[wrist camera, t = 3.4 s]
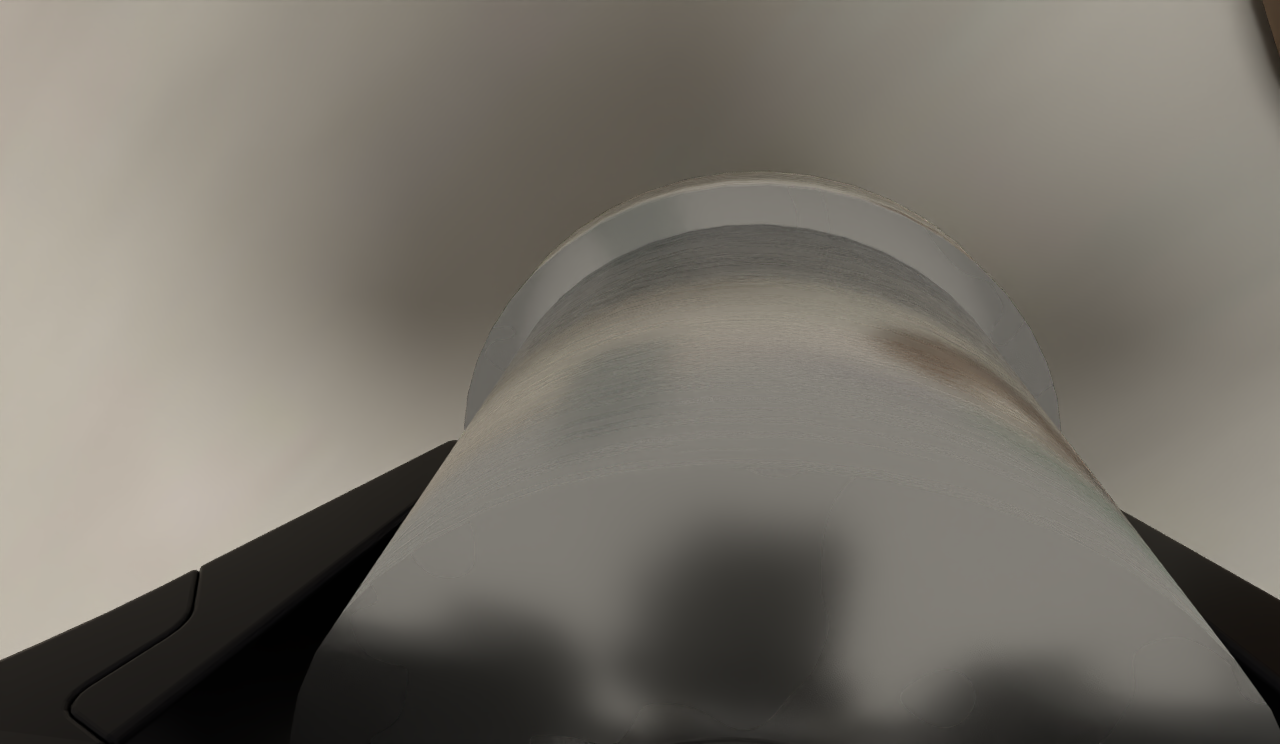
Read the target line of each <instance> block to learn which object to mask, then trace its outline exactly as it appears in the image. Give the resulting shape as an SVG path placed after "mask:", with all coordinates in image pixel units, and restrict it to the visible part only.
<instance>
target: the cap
mask: <svg viewBox="0 0 1280 744" xmlns="http://www.w3.org/2000/svg"><path fill="white" fill-rule="evenodd" d="M464 430H465V431H464V433H463V434H462V435H461V437H460V438H459V440H458V441H457V443H456V444H455V446H454V447H453V449H452V450H451V452H450V453H449V455H448V456H447V458H446V459H445V461H444V462H443V464H442V465H441V467H440V468H439V470H438V471H437V473H436V474H435V476H434V477H433V479H432V480H431V482H430V483H429V485H428V486H427V487H426V489H425V490H424V492H423V493H422V495H421V496H420V498H419V499H418V501H417V502H416V504H415V505H414V507H413V508H412V510H411V511H410V513H409V514H408V516H407V517H406V519H405V520H404V522H403V523H402V525H401V526H400V528H399V529H398V531H397V532H396V534H395V535H394V536H393V538H392V539H391V541H390V542H389V544H388V545H387V547H386V548H385V550H384V551H383V553H382V554H381V556H380V557H379V559H378V560H377V562H376V563H375V565H374V566H373V568H372V569H371V571H370V572H369V574H368V575H367V577H366V578H365V580H364V581H363V583H362V584H361V586H360V587H359V588H358V590H357V591H356V593H355V594H354V596H353V597H352V599H351V600H350V602H349V603H348V605H347V606H346V608H345V609H344V611H343V612H342V614H341V615H340V617H339V618H338V620H337V621H336V623H335V624H334V626H333V627H332V629H331V630H330V632H329V633H328V635H327V636H326V638H325V639H324V641H323V642H322V644H321V645H320V646H319V648H318V649H317V651H316V652H315V654H314V656H313V659H312V661H311V664H310V666H309V668H308V671H307V673H306V676H305V678H304V680H303V683H302V685H301V688H300V690H299V693H298V696H297V701H296V707H295V712H294V717H293V723H292V728H291V733H290V744H1280V729H1279V726H1278V724H1277V722H1276V720H1275V717H1274V715H1273V713H1272V711H1271V709H1270V708H1269V706H1268V705H1267V704H1266V702H1265V701H1264V699H1263V698H1262V697H1261V695H1260V694H1259V692H1258V691H1257V690H1256V688H1255V687H1254V685H1253V684H1252V683H1251V681H1250V680H1249V679H1248V677H1247V676H1246V674H1245V673H1244V672H1243V670H1242V669H1241V667H1240V666H1239V665H1238V663H1237V662H1236V660H1235V659H1234V658H1233V656H1232V655H1231V654H1230V653H1229V651H1228V650H1227V649H1226V647H1225V646H1224V645H1223V643H1222V642H1221V641H1220V639H1219V638H1218V637H1217V636H1216V634H1215V633H1214V632H1213V630H1212V629H1211V628H1210V626H1209V625H1208V624H1207V623H1206V621H1205V620H1204V619H1203V617H1202V616H1201V615H1200V613H1199V612H1198V611H1197V609H1196V608H1195V607H1194V606H1193V604H1192V603H1191V602H1190V600H1189V599H1188V598H1187V596H1186V595H1185V594H1184V592H1183V591H1182V590H1181V589H1180V587H1179V586H1178V585H1177V583H1176V582H1175V581H1174V579H1173V578H1172V577H1171V576H1170V574H1169V573H1168V572H1167V570H1166V569H1165V568H1164V566H1163V565H1162V564H1161V562H1160V561H1159V560H1158V559H1157V557H1156V556H1155V555H1154V553H1153V552H1152V551H1151V549H1150V548H1149V547H1148V546H1147V544H1146V543H1145V542H1144V540H1143V539H1142V538H1141V536H1140V535H1139V534H1138V532H1137V531H1136V530H1135V529H1134V527H1133V526H1132V525H1131V523H1130V522H1129V521H1128V519H1127V518H1126V517H1125V515H1124V514H1123V513H1122V512H1121V510H1120V509H1119V508H1118V506H1117V505H1116V504H1115V502H1114V501H1113V500H1112V499H1111V497H1110V496H1109V495H1108V493H1107V492H1106V491H1105V489H1104V488H1103V487H1102V485H1101V484H1100V483H1099V482H1098V480H1097V479H1096V478H1095V476H1094V475H1093V474H1092V472H1091V471H1090V470H1089V469H1088V467H1087V466H1086V465H1085V463H1084V462H1083V461H1082V459H1081V458H1080V457H1079V455H1078V454H1077V453H1076V452H1075V450H1074V449H1073V448H1072V446H1071V445H1070V444H1069V442H1068V441H1067V440H1066V439H1065V437H1064V436H1063V435H1062V433H1061V426H1060V418H1059V409H1058V400H1057V396H1056V392H1055V389H1054V385H1053V382H1052V378H1051V375H1050V371H1049V368H1048V365H1047V362H1046V360H1045V358H1044V355H1043V353H1042V351H1041V349H1040V347H1039V345H1038V343H1037V341H1036V339H1035V337H1034V335H1033V333H1032V331H1031V328H1030V327H1029V325H1028V324H1027V323H1026V321H1025V320H1024V318H1023V317H1022V315H1021V314H1020V313H1019V311H1018V310H1017V308H1016V307H1015V305H1014V304H1013V303H1012V301H1011V300H1010V298H1009V297H1008V295H1007V294H1006V293H1005V292H1004V291H1003V290H1002V289H1001V288H1000V287H999V286H998V285H997V284H996V283H995V282H994V281H993V280H992V279H991V278H990V277H989V275H988V274H987V273H986V272H985V271H984V270H983V269H982V268H981V267H980V266H979V265H978V264H977V263H976V262H975V261H974V260H973V259H972V258H971V257H970V256H969V255H968V254H967V253H966V252H965V251H964V250H963V248H962V247H961V246H960V245H959V244H958V243H956V242H955V241H954V240H952V239H951V238H950V237H948V236H947V235H946V234H944V233H943V232H942V231H941V230H939V229H938V228H937V227H935V226H934V225H933V224H931V223H930V222H929V221H927V220H926V219H924V218H922V217H921V216H919V215H917V214H915V213H913V212H912V211H910V210H908V209H906V208H904V207H903V206H901V205H899V204H897V203H895V202H894V201H892V200H890V199H887V198H884V197H882V196H879V195H877V194H874V193H871V192H869V191H866V190H864V189H861V188H858V187H856V186H853V185H850V184H846V183H841V182H837V181H833V180H829V179H824V178H820V177H816V176H812V175H803V174H792V173H782V172H772V171H759V172H730V173H721V174H715V175H709V176H703V177H697V178H691V179H685V180H682V181H679V182H676V183H672V184H669V185H666V186H663V187H659V188H656V189H653V190H650V191H647V192H644V193H642V194H640V195H638V196H636V197H634V198H631V199H629V200H627V201H625V202H623V203H621V204H618V205H616V206H614V207H612V208H610V209H609V210H607V211H605V212H604V213H602V214H601V215H599V216H598V217H596V218H594V219H593V220H591V221H590V222H588V223H587V224H585V225H584V226H582V227H580V228H579V229H578V230H577V231H575V232H574V233H573V234H572V235H571V236H570V237H568V238H567V239H566V240H565V241H564V242H563V243H561V244H560V245H559V246H558V247H557V248H556V249H554V250H553V251H552V252H551V253H550V254H549V255H548V256H547V258H546V259H545V260H544V261H543V262H542V263H541V264H540V266H539V267H538V268H537V269H536V270H535V271H534V273H533V274H532V275H531V276H530V277H529V278H528V279H527V281H526V282H525V283H524V284H523V286H522V287H521V288H520V289H519V290H518V292H517V293H516V294H515V295H514V296H513V298H512V299H511V300H510V301H509V303H508V305H507V306H506V308H505V309H504V311H503V312H502V314H501V316H500V317H499V319H498V320H497V322H496V323H495V325H494V326H493V328H492V330H491V331H490V333H489V336H488V338H487V340H486V342H485V345H484V347H483V349H482V351H481V354H480V356H479V358H478V361H477V363H476V367H475V370H474V374H473V378H472V381H471V385H470V389H469V392H468V399H467V408H466V416H465V425H464Z"/></svg>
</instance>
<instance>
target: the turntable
mask: <svg viewBox="0 0 1280 744" xmlns="http://www.w3.org/2000/svg"><path fill="white" fill-rule="evenodd" d="M1262 2H1263V5H1264V8H1265V12H1266V15H1267V18H1268V21H1269V24H1270V28H1271V31H1272V34H1273V37H1274V40H1275V44H1276V47H1277V50H1278V53H1279V56H1280V0H1262Z"/></svg>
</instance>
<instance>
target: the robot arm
mask: <svg viewBox="0 0 1280 744" xmlns="http://www.w3.org/2000/svg"><path fill="white" fill-rule="evenodd" d="M457 441H458V440H452V441H448V442H446V443H444V444H442V445H440V446H438V447H436V448H434V449H432V450H430V451H428V452H426V453H424V454H423V455H421V456H419V457H417V458H415V459H413V460H411V461H409V462H407V463H405V464H403V465H401V466H399V467H397V468H395V469H393V470H391V471H389V472H387V473H385V474H383V475H381V476H379V477H377V478H375V479H373V480H371V481H369V482H367V483H365V484H363V485H361V486H359V487H357V488H355V489H353V490H351V491H349V492H347V493H345V494H343V495H341V496H339V497H337V498H335V499H333V500H331V501H329V502H327V503H325V504H323V505H321V506H319V507H317V508H316V509H314V510H312V511H310V512H308V513H306V514H304V515H302V516H300V517H298V518H296V519H294V520H292V521H290V522H288V523H286V524H284V525H282V526H280V527H278V528H276V529H274V530H272V531H270V532H268V533H266V534H264V535H262V536H260V537H258V538H256V539H254V540H252V541H250V542H248V543H246V544H244V545H242V546H240V547H238V548H236V549H234V550H232V551H230V552H228V553H226V554H224V555H222V556H220V557H218V558H216V559H214V560H212V561H210V562H209V563H207V564H205V565H203V566H201V568H200V571H197V570H192V571H190V572H188V573H186V574H184V575H182V576H180V577H179V578H177V579H175V580H173V581H171V582H169V583H167V584H165V585H163V586H161V587H159V588H157V589H155V590H153V591H151V592H149V593H146V594H144V595H142V596H140V597H138V598H136V599H134V600H132V601H130V602H128V603H126V604H124V605H122V606H120V607H118V608H116V609H114V610H111V611H109V612H107V613H105V614H103V615H101V616H99V617H96V618H94V619H92V620H90V621H87V622H85V623H83V624H81V625H79V626H76V627H74V628H72V629H70V630H68V631H65V632H63V633H61V634H59V635H56V636H54V637H52V638H50V639H48V640H45V641H43V642H41V643H39V644H36V645H34V646H32V647H29V648H27V649H25V650H23V651H20V652H18V653H16V654H13V655H11V656H9V657H7V658H4V659H2V660H0V744H290V733H291V728H292V723H293V717H294V712H295V707H296V701H297V696H298V693H299V690H300V688H301V685H302V683H303V680H304V678H305V676H306V673H307V671H308V668H309V666H310V664H311V661H312V659H313V656H314V654H315V652H316V651H317V649H318V648H319V646H320V645H321V644H322V642H323V641H324V639H325V638H326V636H327V635H328V633H329V632H330V630H331V629H332V627H333V626H334V624H335V623H336V621H337V620H338V618H339V617H340V615H341V614H342V612H343V611H344V609H345V608H346V606H347V605H348V603H349V602H350V600H351V599H352V597H353V596H354V594H355V593H356V591H357V590H358V588H359V587H360V586H361V584H362V583H363V581H364V580H365V578H366V577H367V575H368V574H369V572H370V571H371V569H372V568H373V566H374V565H375V563H376V562H377V560H378V559H379V557H380V556H381V554H382V553H383V551H384V550H385V548H386V547H387V545H388V544H389V542H390V541H391V539H392V538H393V536H394V535H395V534H396V532H397V531H398V529H399V528H400V526H401V525H402V523H403V522H404V520H405V519H406V517H407V516H408V514H409V513H410V511H411V510H412V508H413V507H414V505H415V504H416V502H417V501H418V499H419V498H420V496H421V495H422V493H423V492H424V490H425V489H426V487H427V486H428V485H429V483H430V482H431V480H432V479H433V477H434V476H435V474H436V473H437V471H438V470H439V468H440V467H441V465H442V464H443V462H444V461H445V459H446V458H447V456H448V455H449V453H450V452H451V450H452V449H453V447H454V446H455V444H456V443H457ZM1121 512H1122V513H1123V514H1124V515H1125V517H1126V518H1127V519H1128V521H1129V522H1130V523H1131V525H1132V526H1133V527H1134V529H1135V530H1136V531H1137V532H1138V534H1139V535H1140V536H1141V538H1142V539H1143V540H1144V542H1145V543H1146V544H1147V546H1148V547H1149V548H1150V549H1151V551H1152V552H1153V553H1154V555H1155V556H1156V557H1157V559H1158V560H1159V561H1160V562H1161V564H1162V565H1163V566H1164V568H1165V569H1166V570H1167V572H1168V573H1169V574H1170V576H1171V577H1172V578H1173V579H1174V581H1175V582H1176V583H1177V585H1178V586H1179V587H1180V589H1181V590H1182V591H1183V592H1184V594H1185V595H1186V596H1187V598H1188V599H1189V600H1190V602H1191V603H1192V604H1193V606H1194V607H1195V608H1196V609H1197V611H1198V612H1199V613H1200V615H1201V616H1202V617H1203V619H1204V620H1205V621H1206V623H1207V624H1208V625H1209V626H1210V628H1211V629H1212V630H1213V632H1214V633H1215V634H1216V636H1217V637H1218V638H1219V639H1220V641H1221V642H1222V643H1223V645H1224V646H1225V647H1226V649H1227V650H1228V651H1229V653H1230V654H1231V655H1232V656H1233V658H1234V659H1235V660H1236V662H1237V663H1238V665H1239V666H1240V667H1241V669H1242V670H1243V672H1244V673H1245V674H1246V676H1247V677H1248V679H1249V680H1250V681H1251V683H1252V684H1253V685H1254V687H1255V688H1256V690H1257V691H1258V692H1259V694H1260V695H1261V697H1262V698H1263V699H1264V701H1265V702H1266V704H1267V705H1268V706H1269V708H1270V709H1271V711H1272V713H1273V715H1274V717H1275V720H1276V722H1277V724H1278V726H1279V729H1280V600H1279V599H1277V598H1275V597H1274V596H1272V595H1270V594H1268V593H1267V592H1265V591H1263V590H1261V589H1260V588H1258V587H1256V586H1254V585H1252V584H1251V583H1249V582H1247V581H1245V580H1244V579H1242V578H1240V577H1238V576H1237V575H1235V574H1233V573H1231V572H1230V571H1228V570H1226V569H1224V568H1222V567H1221V566H1219V565H1217V564H1215V563H1214V562H1212V561H1210V560H1208V559H1207V558H1205V557H1203V556H1201V555H1200V554H1198V553H1196V552H1194V551H1193V550H1191V549H1189V548H1187V547H1185V546H1184V545H1182V544H1180V543H1178V542H1177V541H1175V540H1173V539H1171V538H1170V537H1168V536H1166V535H1164V534H1163V533H1161V532H1159V531H1157V530H1155V529H1154V528H1152V527H1150V526H1148V525H1147V524H1145V523H1143V522H1141V521H1140V520H1138V519H1136V518H1134V517H1133V516H1131V515H1129V514H1127V513H1126V512H1124V511H1122V510H1121Z"/></svg>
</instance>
